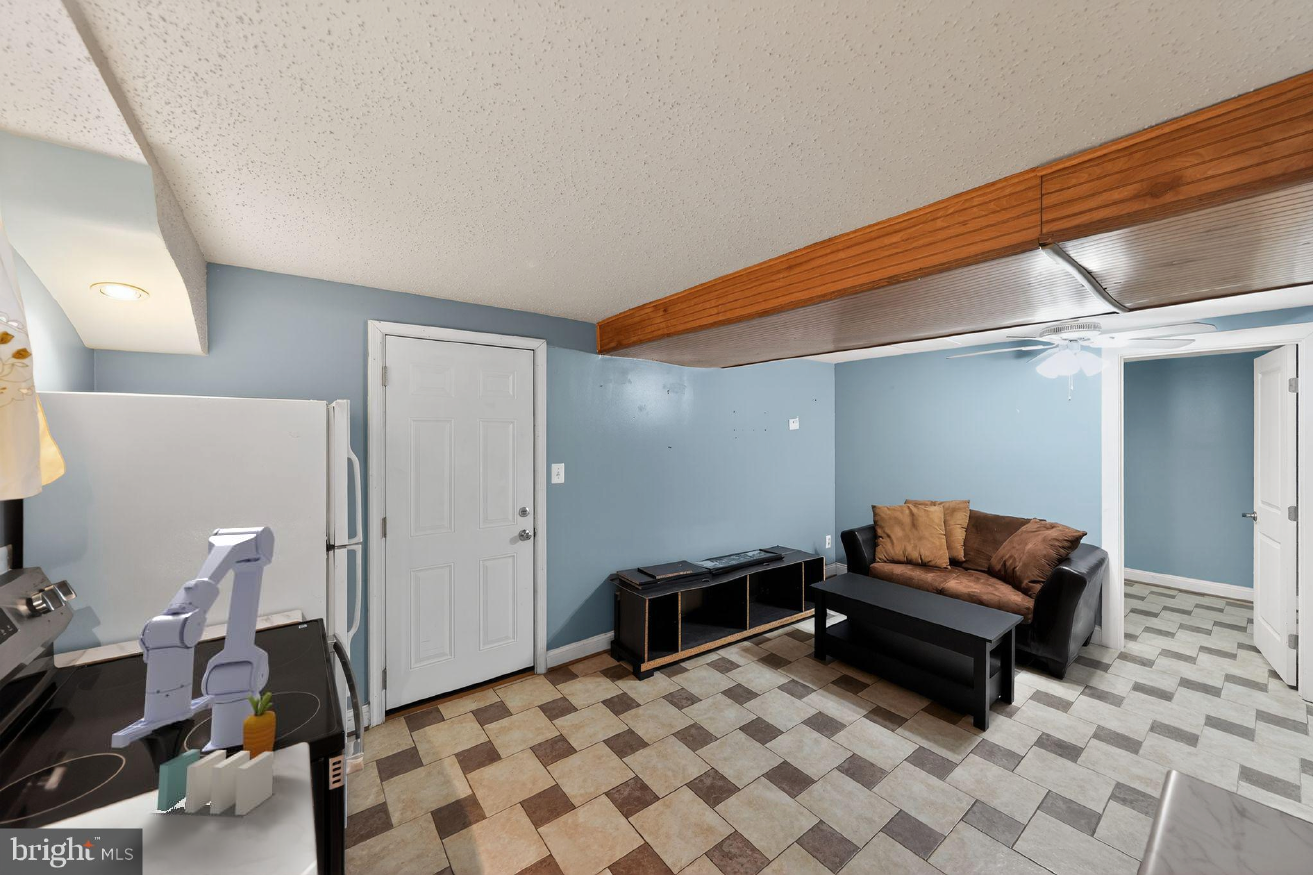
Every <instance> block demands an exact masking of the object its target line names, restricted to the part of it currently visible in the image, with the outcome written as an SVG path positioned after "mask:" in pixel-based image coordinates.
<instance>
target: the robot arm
mask: <svg viewBox="0 0 1313 875" xmlns="http://www.w3.org/2000/svg"><path fill="white" fill-rule="evenodd" d="M275 541H276V539H275V535H274V532H273V530H272V529H271V528H270V526H267V525H266V526H262V527H261V526H256V527H241V528H240V527H239V528H237V527H236V528H222V527H221V528H216V529H215V530H214V531H213V532H212V533H211V535H210V536H209V539H208V542H207V553H208V556H207V558H206V560H205V562H204V563H203V565H202V567H201V568H200V570H199V572H198V573H197V575H196V577H195V579H193V580H192V579H191V580H189V581H187V582H185V583H184V584H182V586H181V588H180V589H179V590H178V592H177V593H176V594H175V595H174V597H173V598H172V600H170V603H169V604H168V605H167V607H165V609H164V610H163V612H162V613H161V615H157V616H155V617H154V618H152V619H150V620H148V621H147V622H146V623H145V625H144V626H143V628H142V631H141V634H140V637H139V638H138V640H139V641H138V642H139V643H138V644H139V647H140V649H141V651H142V654H143V656H142V657H143V658H142V661H144V663H145V664H147V667H146V668H147V669H146V684H145V685H146V686H145V700H144V701H145V702H144V712H143V713H144V715H143V718H141V719H138V720H137V721H136V722H134V723H133V724H130V725H129V726H127V727H126V728H123V729H121V730H120V731H117V732H116V733H112V736H111V745H110V746H111V748H116V749H117V748H124V747H127V746H129V745H130V743H132V742H134V741H137V740H139V741H140V742H141V743H142V745H143V746H144V747H145V749H146V750H147V752H148V754H149V756H150V759H151V761H152V765H153V769H154V773H155V774H159V773H160V765H162V764H164V763H166V762H168V761H170V760H172V759H174V758H176V757H178V756H180V755H179V754H180V752H181V749H182V747H183V745H184V742H185V741H186V739H187V737H188V736H189V735H190V733H191V731H192V730H193V728H194V727H195V724H196V723H195V722H196V721H195V719H194V718H191V717H193V716H194V715H195V714H197V713H199V712H202V711H203V710H206V709H207V710H209V709H211V710H212V711H211V727H210V730H211V731H210V741H209V742H208V743H207V744H206V745H205V746H204V747H203V748H202V749H201V753H202V752H203V753H205V752H210V751H217V750H222V749H225V748H231V747H236V746H241V745H242V746H243V723H244V720H245V719H246V718H247V717H249V716H251V715H253V714H254V709H253V707H252V705H251V703H250V701H249V699H248V698H249V697H250V696H252V697H253V698H254V700H256V699H257V698H259V699H260V700H261V695H260V691H261V690H263V688H264V687H265V686H266V684H267V682H268V678H269V674H270V673H269V672H270V668H269V655H268V652H267V651H265V650H263V649H262V648H260V647H258V646H257V645H256V644H255V638H256V630H257V622H258V615H259V604H260V598H261V592H262V591H261V588H262V583H263V575H264V569H265V568H264V567H266V566H268V565H270V564H272V561H273V560H272V559H273V556H274V549H275ZM230 571H232V572H233V574H234V576H233V582H232V590H231V596H230V605H229V609H228V610H229V612H228V617H227V618H228V619H227V625H226V630H225V631H226V633H225V639H224V647H223V650H221V651H220V652H218V653H217V654H216V655H214V656H213V657H211V659H209V660H208V663H207V666H206V671H205V673H204V675H203V676H202V681H201V687H200V688H201V689H200V690H201V693H202V694H203V696H201V697H198V698H195V699H192V695H193V679H194V676H193V675H194V661H195V660H194V659H195V646H196V645H197V644H198V643H199V641H200V640H201V639H202V636H203V633H204V630H205V624H206V623H207V614H208V613H209V611H210V610H211V608H212V606H213V605H214V603H215V602H216V600H217V598H218V597H219V594H220V589H219V587H218V585H219V584H220V583H221V581H222V580H223V579H224V578H225V577H226V576H227V574H228V573H229V572H230ZM244 661H245V662H244ZM235 662H237V663H235ZM260 704H261V701H260V702H259V705H258V710H259V707H260Z"/></svg>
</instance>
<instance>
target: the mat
mask: <svg viewBox="0 0 1313 875" xmlns="http://www.w3.org/2000/svg"><path fill="white" fill-rule="evenodd" d="M275 795H276V793H273V792H272V796H270V797H269V798H268V799H266V800H265V801H263V802H262V803H261V804H259V805H258V806H256V807H255V808H254V809H252V810H251V811H249V812H248V813H247V814H245V815H235V810H236V803H234V804H233V805H231V806H230V807H228V808H227V809H225V810H224V811H222V812H221V813H220V814H210V805H205V806H204V807H202V808H200V809H199V810H197V811H196V812H194V813H188V812H185V809H184V807H180V808H177V809H176V807H175V809H174V807H173V809H171V811H169V812H168V811H167V812H166V814H165V815H175V816H176V815H181V816H200V817H201V816H202V817H203V816H204V817H220V818H221V817H223V818H226V817H227V818H244V817H245V816H247V815H248V814H249V813H251V812H252V811H254V810H256V809H257V808H258V807H260V806H261V805H262V804H263V803H265V802H266V801H268V800H269V799H271V798H272V797H273V796H275Z"/></svg>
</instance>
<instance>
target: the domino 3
mask: <svg viewBox="0 0 1313 875" xmlns="http://www.w3.org/2000/svg"><path fill="white" fill-rule="evenodd" d="M274 753H275V752H274V751H272V752H266V751H265V752H263V753H262V754H260V755H258V756H257V757H255V758H254V759H252V760H250V761H249V762H247V763H245V764H244V765H242V766H240V767H239V768H237V788H236V810H235V815H245V814H247V813H248V812H249V811H251V810H252V809H254V808H255V807H256V806H258V805H259V804H261V803H262V802H263V801H265V800H266V799H268V798H269V797H270V796H272V793H273V782H274V781H273V779H274V778H273V777H274V775H273V774H274V773H273V772H274V757H275V756H274V755H275V754H274ZM272 797H273V796H272ZM269 799H270V798H269ZM269 799H268V800H269ZM266 801H267V800H266ZM266 801H265V802H266ZM262 804H263V803H262ZM262 804H261V805H262ZM259 806H260V805H259ZM259 806H258V807H259ZM255 809H256V808H255ZM255 809H254V810H255ZM252 811H253V810H252ZM252 811H251V812H252ZM248 814H249V813H248ZM248 814H247V815H248ZM245 816H246V815H245Z"/></svg>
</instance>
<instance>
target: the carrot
mask: <svg viewBox="0 0 1313 875" xmlns="http://www.w3.org/2000/svg"><path fill="white" fill-rule="evenodd" d="M271 697H272V692H269V691H268V692H266V693H265V695H264V696H263V697H262V699H261V698H260V699H259V698H257V699H256V700H254V698H253V697H252V696H250V697H249V698H248V699H249V701H250V703H251V705H252V707H253V709H254V714H253V715H251V716H249V717H247V718H246V719H245V720H244V723H243V744H242V749H243V750H242V751H250V757H249V761H250V760H252V759H254V758H255V757H257V756H258V755H260V754H262V753H263V752H265V751H266V752H273V747H274V744H275V735H276V722H277V719H276V718H277V717H276V713H275V712H274V711H272V710H268V709H269V708H270V707H272V705H273V702H269V701H270V699H271ZM259 702H260V707H259V710H258V705H259ZM267 703H268V704H267Z"/></svg>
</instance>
